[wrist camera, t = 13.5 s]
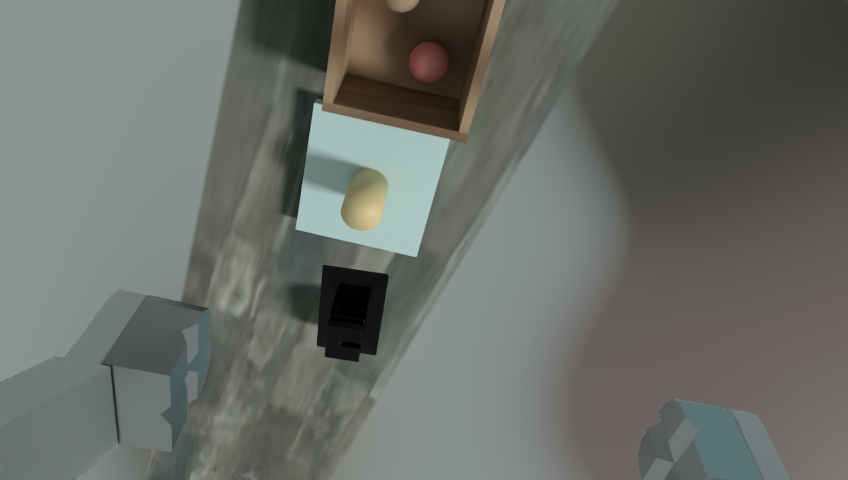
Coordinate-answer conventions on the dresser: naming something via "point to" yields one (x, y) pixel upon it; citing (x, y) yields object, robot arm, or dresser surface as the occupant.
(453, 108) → the box
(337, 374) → the dresser surface
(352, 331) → the black stepped block
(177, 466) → the dresser surface
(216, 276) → the dresser surface
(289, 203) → the dresser surface
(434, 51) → the bead red
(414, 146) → the lid
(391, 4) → the bead maple
